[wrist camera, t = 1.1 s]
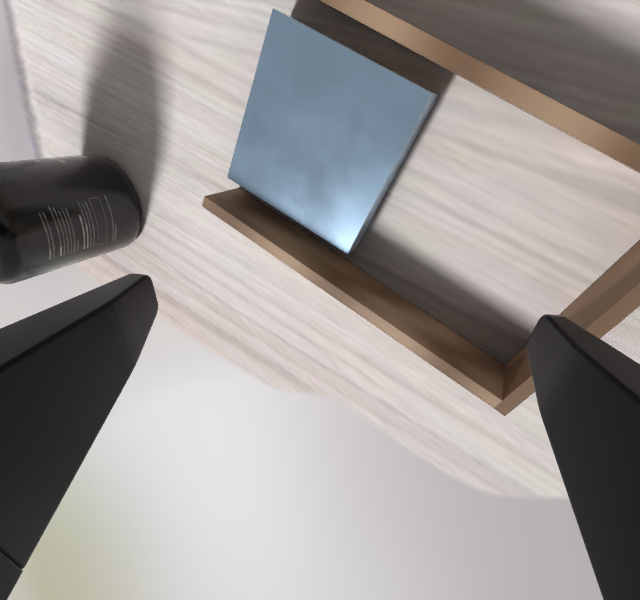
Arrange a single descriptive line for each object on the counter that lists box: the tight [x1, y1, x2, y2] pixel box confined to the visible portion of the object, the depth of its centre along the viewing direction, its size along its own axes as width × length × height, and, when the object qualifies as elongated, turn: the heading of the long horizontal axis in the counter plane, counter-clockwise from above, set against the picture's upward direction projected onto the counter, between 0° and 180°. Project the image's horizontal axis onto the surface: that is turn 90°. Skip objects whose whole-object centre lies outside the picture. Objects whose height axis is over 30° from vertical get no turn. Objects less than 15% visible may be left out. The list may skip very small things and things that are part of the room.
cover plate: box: [228, 9, 439, 254], centre depth 19 cm, size 8×8×2 cm
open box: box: [202, 0, 640, 416], centre depth 17 cm, size 19×11×3 cm, turn 64°
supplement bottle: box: [0, 155, 141, 284], centre depth 23 cm, size 7×7×12 cm
